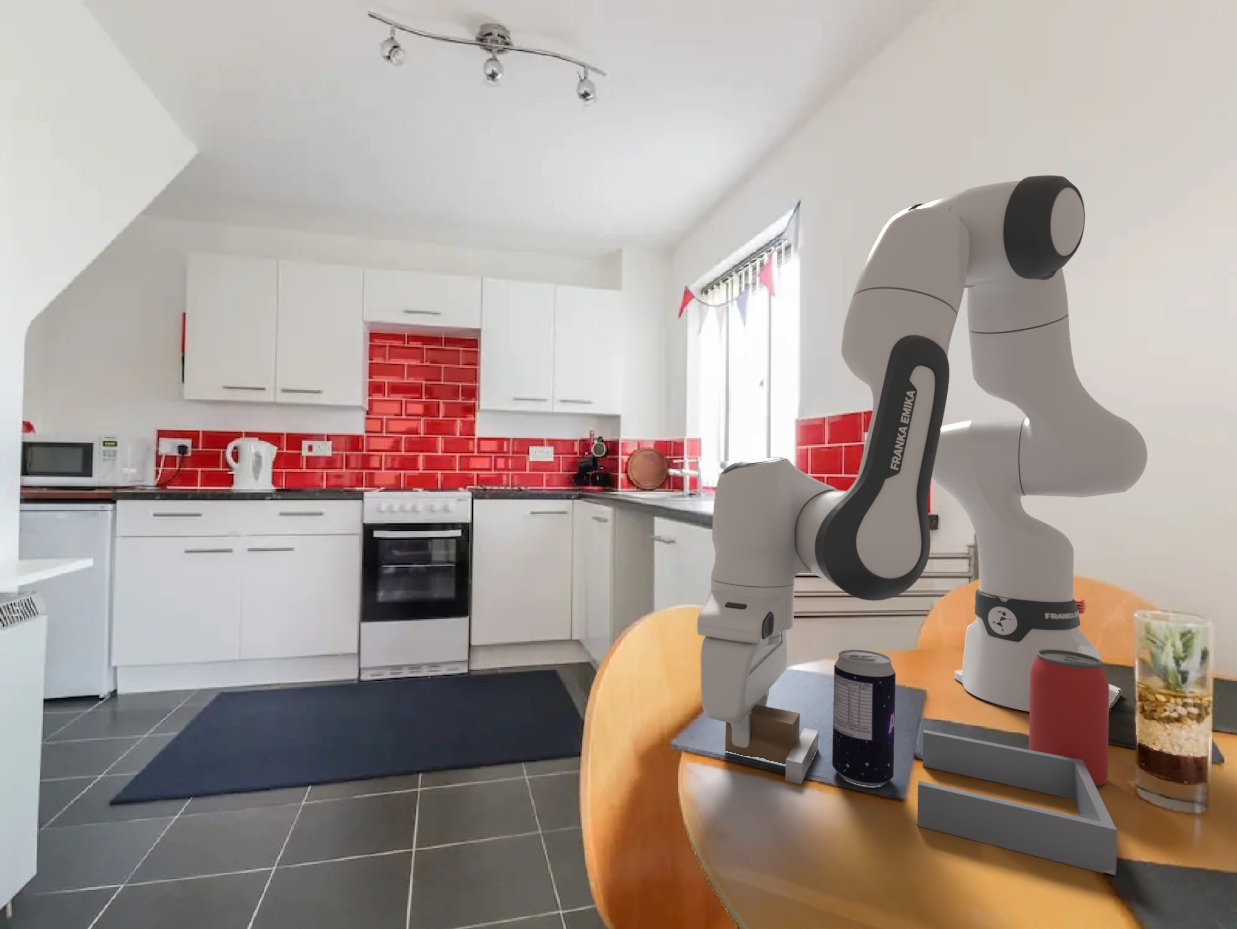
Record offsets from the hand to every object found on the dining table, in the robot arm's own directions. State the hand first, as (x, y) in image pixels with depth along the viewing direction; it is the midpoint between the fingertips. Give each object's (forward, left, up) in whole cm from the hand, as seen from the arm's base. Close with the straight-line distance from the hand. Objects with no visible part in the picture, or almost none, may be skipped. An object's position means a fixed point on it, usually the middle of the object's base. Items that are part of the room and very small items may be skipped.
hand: (748, 735), depth 68 cm
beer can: (-25, +20, -2) cm, 32 cm away
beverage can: (-6, +10, -2) cm, 12 cm away
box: (-12, +20, -2) cm, 24 cm away
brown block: (-1, +1, -2) cm, 2 cm away
